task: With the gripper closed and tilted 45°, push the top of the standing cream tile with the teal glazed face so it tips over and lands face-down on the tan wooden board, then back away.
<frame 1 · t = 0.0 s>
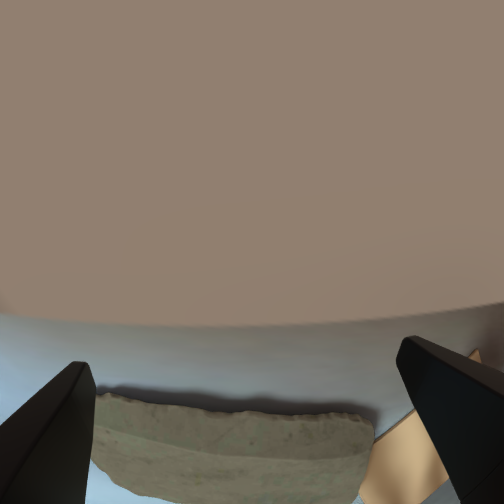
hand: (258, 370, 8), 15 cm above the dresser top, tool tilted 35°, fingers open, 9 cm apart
tan wooden board: (436, 428, 24), on the dresser top
stone slab: (228, 461, 20), on the dresser top, touching tan wooden board
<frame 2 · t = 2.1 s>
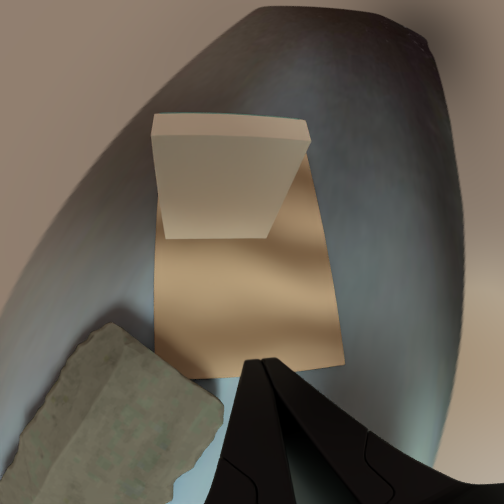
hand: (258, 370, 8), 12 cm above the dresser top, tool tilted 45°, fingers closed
glazed tile: (216, 229, 22), resting on tan wooden board
tan wooden board: (215, 232, 23), on the dresser top
stone slab: (82, 486, 14), on the dresser top, touching tan wooden board
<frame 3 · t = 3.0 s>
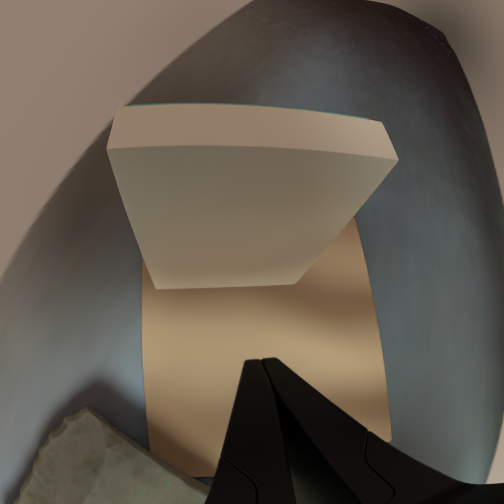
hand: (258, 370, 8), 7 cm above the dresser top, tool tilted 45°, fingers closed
glazed tile: (225, 273, 16), resting on tan wooden board
tan wooden board: (224, 276, 16), on the dresser top
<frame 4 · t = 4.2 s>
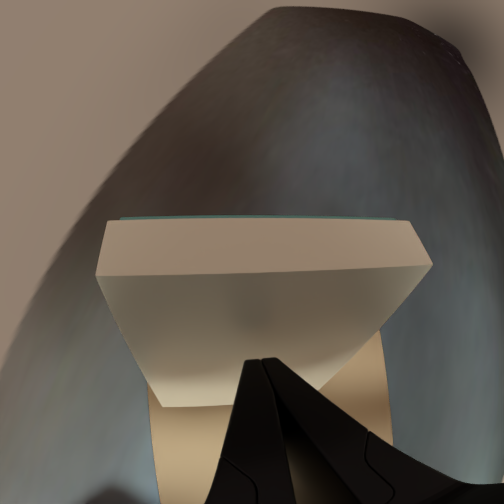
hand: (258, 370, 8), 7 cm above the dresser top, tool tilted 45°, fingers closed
glazed tile: (238, 389, 14), point 1 cm above the dresser top, tilted 17°, touching tan wooden board
tan wooden board: (236, 390, 14), on the dresser top
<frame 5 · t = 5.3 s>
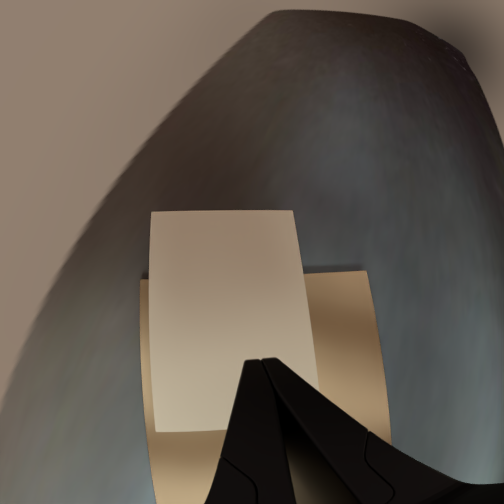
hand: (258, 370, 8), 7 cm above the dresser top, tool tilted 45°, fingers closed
glazed tile: (239, 426, 12), point 1 cm above the dresser top, tilted 90°, touching tan wooden board
tan wooden board: (237, 442, 13), on the dresser top
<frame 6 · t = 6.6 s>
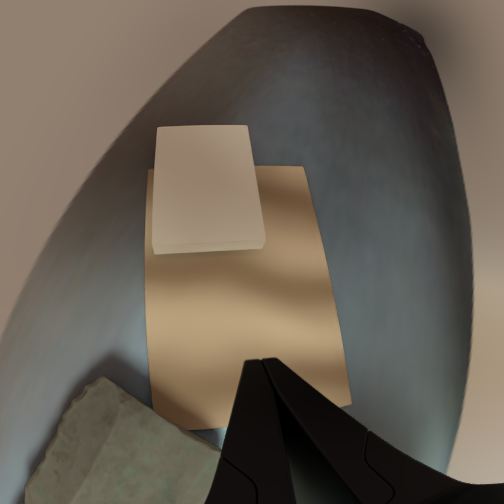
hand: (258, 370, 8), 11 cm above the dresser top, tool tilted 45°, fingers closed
glazed tile: (209, 247, 20), point 1 cm above the dresser top, tilted 90°, touching tan wooden board
tan wooden board: (209, 270, 21), on the dresser top
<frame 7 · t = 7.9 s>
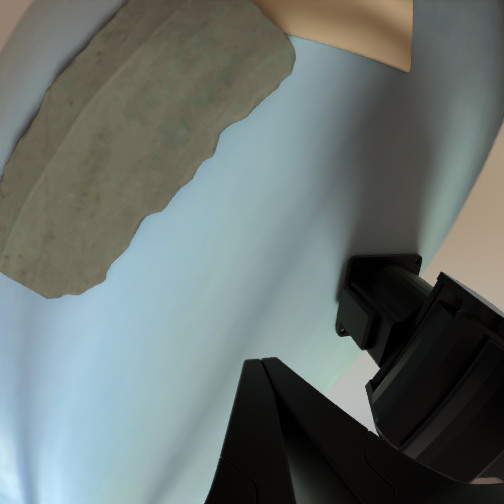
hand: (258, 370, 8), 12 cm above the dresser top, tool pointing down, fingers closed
stone slab: (107, 147, 16), on the dresser top, touching tan wooden board
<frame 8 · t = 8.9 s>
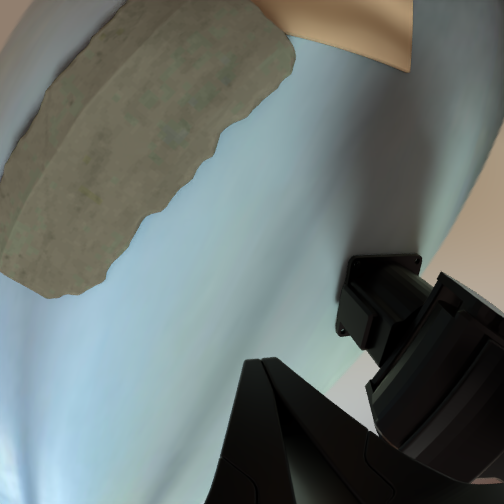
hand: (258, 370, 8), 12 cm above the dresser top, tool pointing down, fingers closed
stone slab: (107, 147, 16), on the dresser top, touching tan wooden board
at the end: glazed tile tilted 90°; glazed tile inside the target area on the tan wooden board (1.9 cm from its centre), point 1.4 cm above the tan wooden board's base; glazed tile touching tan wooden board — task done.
